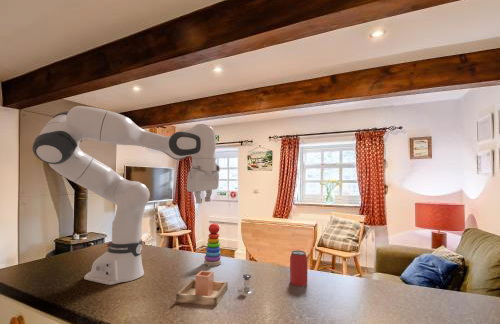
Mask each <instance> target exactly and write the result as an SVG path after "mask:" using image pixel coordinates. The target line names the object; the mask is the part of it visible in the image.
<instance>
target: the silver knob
mask: <svg viewBox="0 0 500 324" xmlns="http://www.w3.org/2000/svg"><path fill="white" fill-rule="evenodd" d="M242 278H243V287H241V288H239V289H238V290H237V293H238V294H239V295H240V296H247V297H248V296H253V295H255V294H256V292H257V290H256V289H255V288H253V287H251V286H250V285H251V282H250V281H251V278H252V275H251V274H249V273H246V274H243V275H242Z"/></svg>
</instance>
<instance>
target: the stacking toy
mask: <svg viewBox="0 0 500 324" xmlns="http://www.w3.org/2000/svg"><path fill="white" fill-rule="evenodd" d="M219 231H220V226H219V224H217V222H216V223H215V222H214V223H213V222H212V223H210V225H208V232H209V234H208V236H207V237H208V239H207V243H206V246H207V247H206V251H205V256H204V260H203V263H204V264H205V265H206V266H210V267H215V266H219V265H221V264H222V259H221V258H222V257H221V254H222V253H221V247H220V246H221V243H220V238H219V237H220V234H219Z"/></svg>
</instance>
